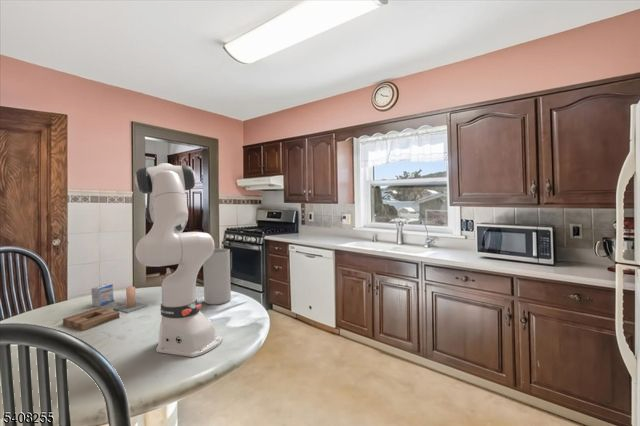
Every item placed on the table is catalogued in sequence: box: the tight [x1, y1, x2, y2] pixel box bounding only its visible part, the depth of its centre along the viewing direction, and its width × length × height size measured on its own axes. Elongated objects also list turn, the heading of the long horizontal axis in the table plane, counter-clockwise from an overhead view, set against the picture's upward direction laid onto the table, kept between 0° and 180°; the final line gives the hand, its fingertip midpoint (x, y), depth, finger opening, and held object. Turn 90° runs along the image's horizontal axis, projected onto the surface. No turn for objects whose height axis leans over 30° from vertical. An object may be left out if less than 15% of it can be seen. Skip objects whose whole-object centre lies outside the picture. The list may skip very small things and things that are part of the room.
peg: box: [125, 286, 137, 308], centre depth 146 cm, size 4×4×9 cm
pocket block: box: [62, 306, 120, 332], centre depth 131 cm, size 14×14×2 cm
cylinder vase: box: [202, 248, 232, 306], centre depth 154 cm, size 12×12×25 cm
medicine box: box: [91, 283, 115, 307], centre depth 152 cm, size 8×4×9 cm, turn 168°
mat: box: [113, 301, 149, 314], centre depth 146 cm, size 10×10×1 cm
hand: (154, 263), depth 155 cm, fingers open, 8 cm apart
